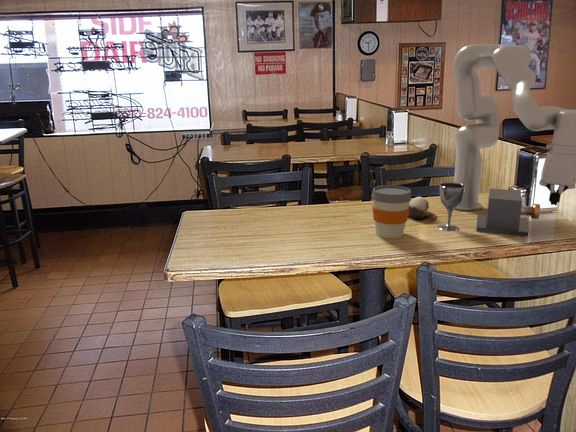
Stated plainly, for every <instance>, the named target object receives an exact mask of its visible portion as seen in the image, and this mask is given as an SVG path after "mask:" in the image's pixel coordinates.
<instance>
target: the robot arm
mask: <svg viewBox="0 0 576 432" xmlns="http://www.w3.org/2000/svg"><path fill="white" fill-rule="evenodd" d="M531 62H532V53H531V51H530V50H529V49H528V47H526V46H525V45H521V44H499V43H497V44H495V43H471V44H468V45H465V46H463V47H462V48H460V49H459V50H458V51H457V53H456V55H455V56H454V59H453V63H452V72H453V77H454V83H455V98H456V110H457V111H456V112H457V115H458V117H459V119H461V120H462V121H475V123H471V124H469V123H468V124H465V125H463V126H461V127H459V129H457V130H456V132H455V136H454V145H455V163H454V164H455V165H454V174H453V175H454V176H453V183H460V184H463V185H465V189H464V195H463V199H462V201H461V203H460V204H459V205H458V206H457V207H456V208H455V209H454V210H457V211H467V212H469V211H479V210H481V209H482V207H483V204H482V203H480V201H479V196H480V186H481V179H482V178H481V176H482V168H483V167H482V166H483V157H482V155H481V152H480V151H481V149H487V148H491V147H493V146H495V145H496V144H497V142H498V140H499V135H500V128H499V127H500V126H499V114H498V113H499V110H498V104H497V102H496V99H495V98H494V97H493V96H492V95H491V94H488V93H481V84H480V83H481V82H480V79H479V76H478V75H477V72H476V70H477V69H495V70H496V71H497V73H498V74H499V76H500V77H501V79H502V80H503V82H504V83H505V85H506V86H507V87H508V89H509V90H510V92H511V103H512V109H513V110H514V113H515V114H516V116H517V117H518V119H519V120H520V122H521V123H522V125H524V127H526V129H528V130H529V131H532V132H540V131H545V130H546V131H549V130H550V131H551V130H554V132H553V136H552V140H551V141H552V142H551V143H549V144H546V145H545V146H546V149H548V150H550V151H548V152H547V155H546V156H545V160H544V163H543V166H542V169H541V177H540V180H539V186H542V187H545V188H547V190H548V191H549V196H548V197H549V198H548V202H550V204H551V206H557V205H558V203H560V199H561V195H562V194H563V193H564V192H566V191H567V190H574V189H576V109H566V108H563V107H560V106H558V105H557V106H555V105H549V106H548V105H547V106H539V105H538V103H537V102H536V101H535V99H534V98H533V95H532V93H531V87H532V86H533V85H534V84H535V83H536V82H535V81H536V75H535V74H534V73H533V71H532V70H531V68H530V67H529V65H530V63H531ZM555 185H556V186H558V188H557V190H555Z"/></svg>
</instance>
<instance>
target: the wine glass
mask: <svg viewBox="0 0 576 432" xmlns="http://www.w3.org/2000/svg"><path fill="white" fill-rule="evenodd" d="M464 189H465V185H463V184H460V183H454V181H453V182H451V181H450V182H448V181H447V182H441V183H440V184H439V199H440V202H441V204H442V205H443V206H444V207H445V209H446V211H447V224H446V223H445V224H440V225H438V226H437V228H438V229H439V230H441V231H446V232H456V231H460V227H459V226H458V225H453V224H451V219H452V214H453V211H454V210H456V209H455V208H456V207H457V206H458V205H459V204H460V203H461V201H462V199H463V195H464Z"/></svg>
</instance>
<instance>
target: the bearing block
mask: <svg viewBox="0 0 576 432" xmlns="http://www.w3.org/2000/svg"><path fill="white" fill-rule="evenodd" d="M487 199H488V200H487V207H486V208H487V209H486V214H481V213H480V214H479V213H478V214H477V215H476V216H477V217H476V228H475V229H476V230H475V232H478V233H479V232H480V233H490V234H498V235H507V236H519V237H528V238H529V232H530V231H529V228H528V224H527V223H528V222H527V219H526V218H525V217H521V208H522V206H523V198H522V192H521V190H517V189H515V190H513V189H503V188H502V189H501V188H489V190H488V198H487ZM487 210H488V212H487Z"/></svg>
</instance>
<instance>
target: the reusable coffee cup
mask: <svg viewBox="0 0 576 432" xmlns="http://www.w3.org/2000/svg"><path fill="white" fill-rule="evenodd" d="M371 199H372V207H371V209H372V218H373V220H374V227H375V229H374V230H375V235H376V236H378V237H381V238H384V239H400V238H402V237H403V236H404V231H405V227H406V223H407V222H408V220H409V219H408V214H409V209H410V207H409V204H410V203H411V201H412V191H411V189H410V188H408V187H405V186H402V185H389V184H388V185H387V184H386V185H377V186H375V187H373V189H372V193H371Z"/></svg>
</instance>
